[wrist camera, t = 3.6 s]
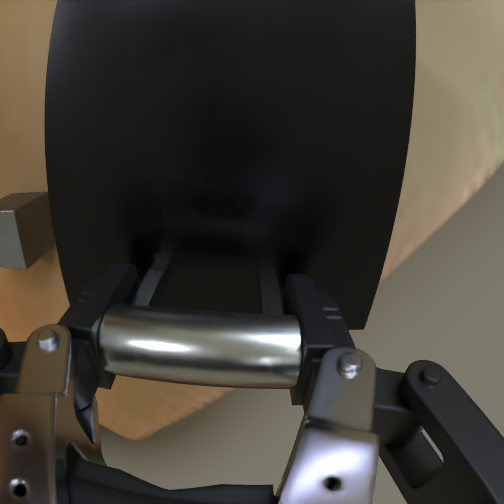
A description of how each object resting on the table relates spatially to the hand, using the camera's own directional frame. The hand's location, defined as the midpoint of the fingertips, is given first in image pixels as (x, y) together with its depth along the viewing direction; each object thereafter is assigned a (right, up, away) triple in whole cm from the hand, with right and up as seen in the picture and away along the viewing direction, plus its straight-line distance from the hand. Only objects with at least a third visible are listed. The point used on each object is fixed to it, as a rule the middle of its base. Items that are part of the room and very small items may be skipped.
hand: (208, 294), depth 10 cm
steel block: (-16, +4, +10) cm, 19 cm away
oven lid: (0, +6, -1) cm, 6 cm away
